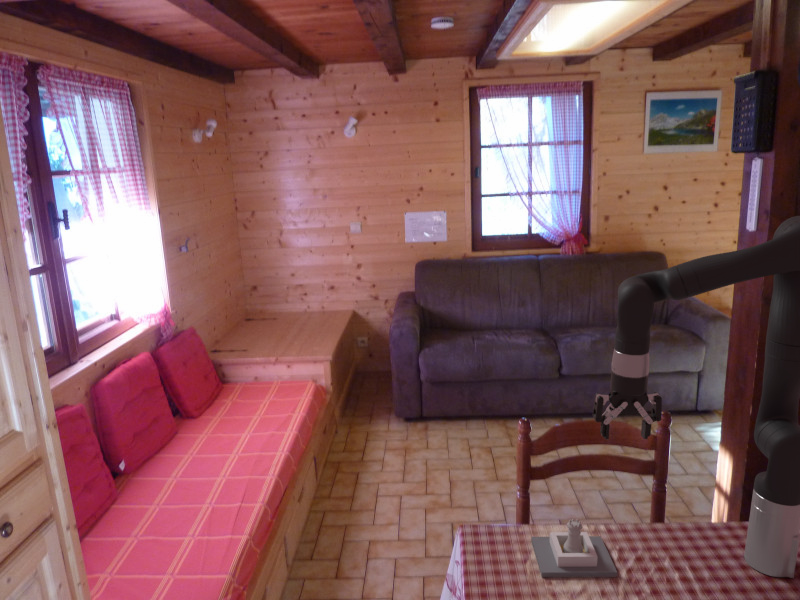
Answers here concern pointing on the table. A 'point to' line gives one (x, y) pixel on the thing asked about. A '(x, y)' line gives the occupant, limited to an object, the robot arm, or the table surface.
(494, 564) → the table surface
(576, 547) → the rook chess piece
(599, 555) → the square frame on plate
